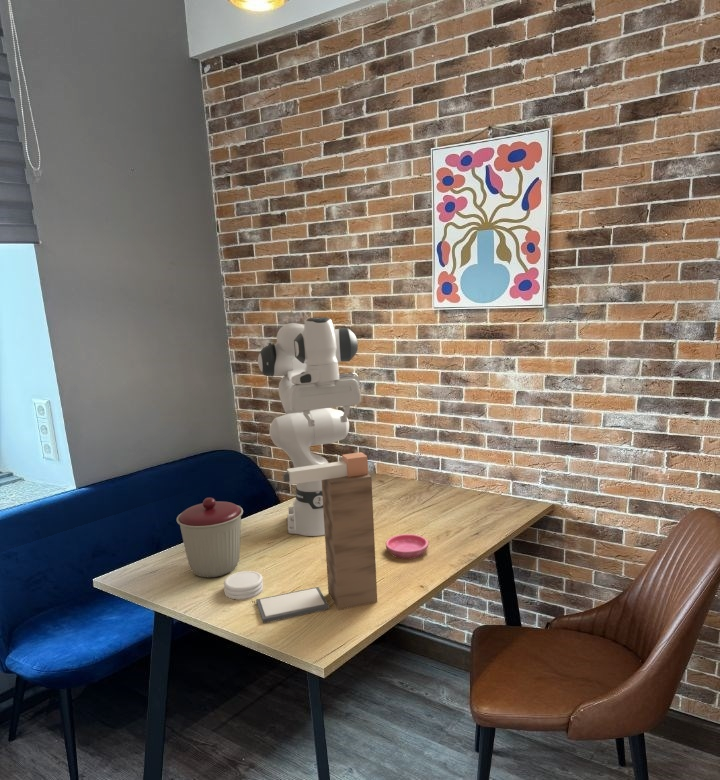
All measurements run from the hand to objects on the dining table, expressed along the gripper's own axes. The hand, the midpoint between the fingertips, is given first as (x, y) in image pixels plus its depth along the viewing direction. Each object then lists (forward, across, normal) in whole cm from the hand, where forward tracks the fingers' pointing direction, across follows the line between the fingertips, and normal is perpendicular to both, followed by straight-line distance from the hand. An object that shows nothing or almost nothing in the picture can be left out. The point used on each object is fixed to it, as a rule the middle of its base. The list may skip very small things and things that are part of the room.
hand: (327, 424), depth 166 cm
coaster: (+40, +28, +5) cm, 50 cm away
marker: (+10, +8, +23) cm, 27 cm away
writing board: (+42, +18, +18) cm, 49 cm away
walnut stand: (+42, +3, +20) cm, 46 cm away
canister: (+39, +34, -11) cm, 53 cm away
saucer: (+40, -20, +1) cm, 45 cm away
